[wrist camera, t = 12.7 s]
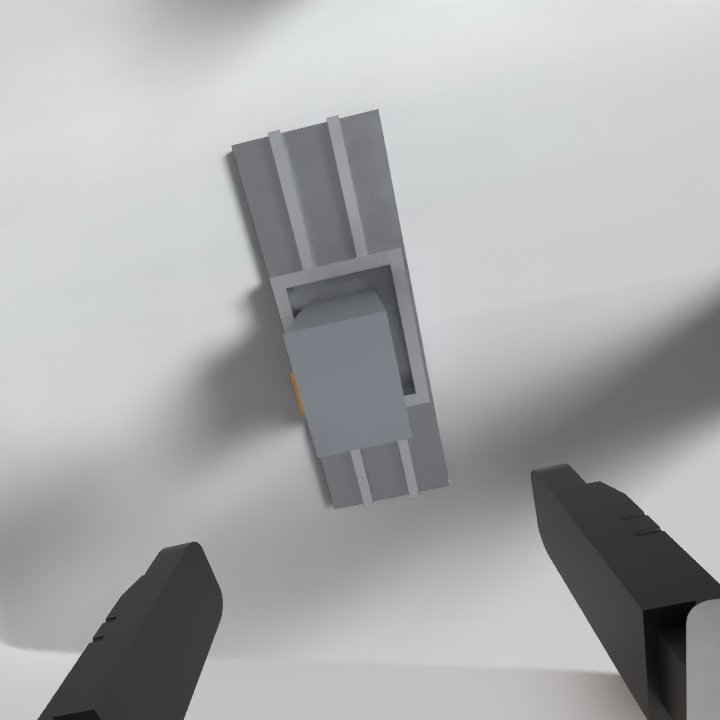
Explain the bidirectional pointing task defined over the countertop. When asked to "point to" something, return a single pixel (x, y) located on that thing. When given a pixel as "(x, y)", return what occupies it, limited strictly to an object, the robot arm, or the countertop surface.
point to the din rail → (345, 275)
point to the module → (347, 373)
